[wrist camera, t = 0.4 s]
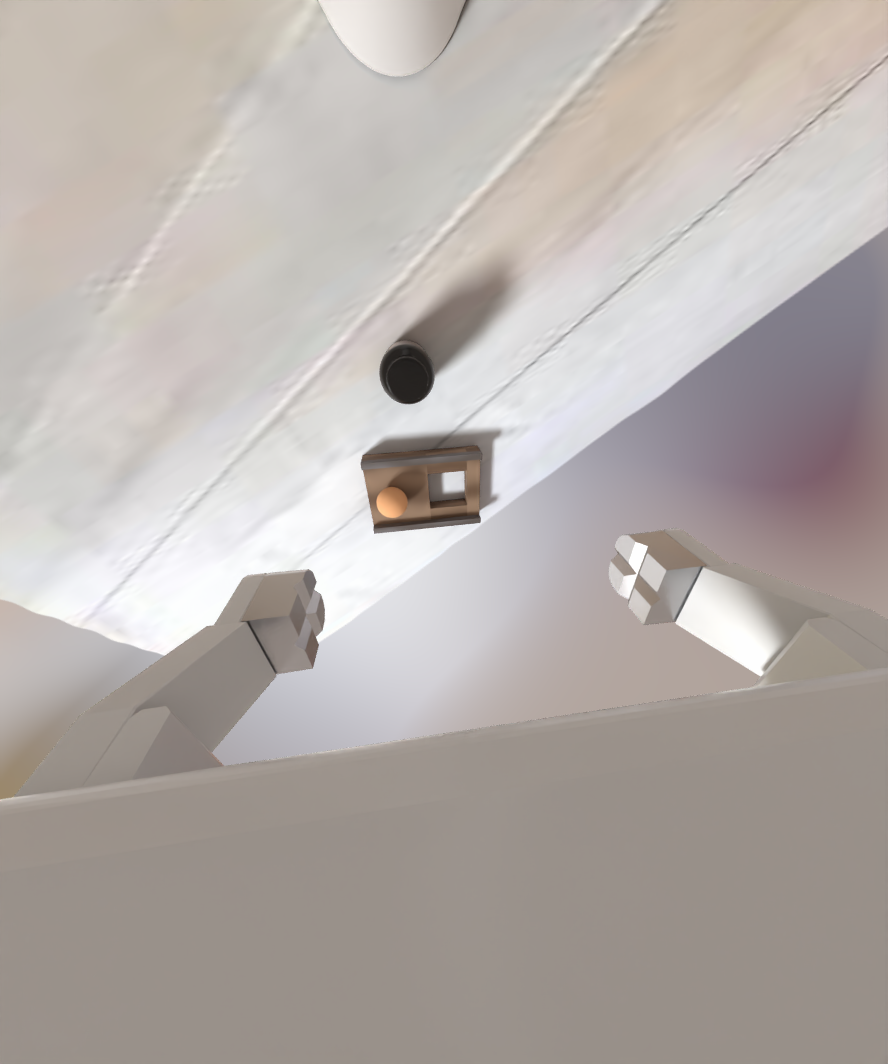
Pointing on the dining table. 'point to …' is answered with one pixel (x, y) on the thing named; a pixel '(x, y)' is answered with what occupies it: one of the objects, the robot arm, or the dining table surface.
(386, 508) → the ball
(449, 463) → the lane
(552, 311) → the dining table surface
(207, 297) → the dining table surface
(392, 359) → the supplement bottle
